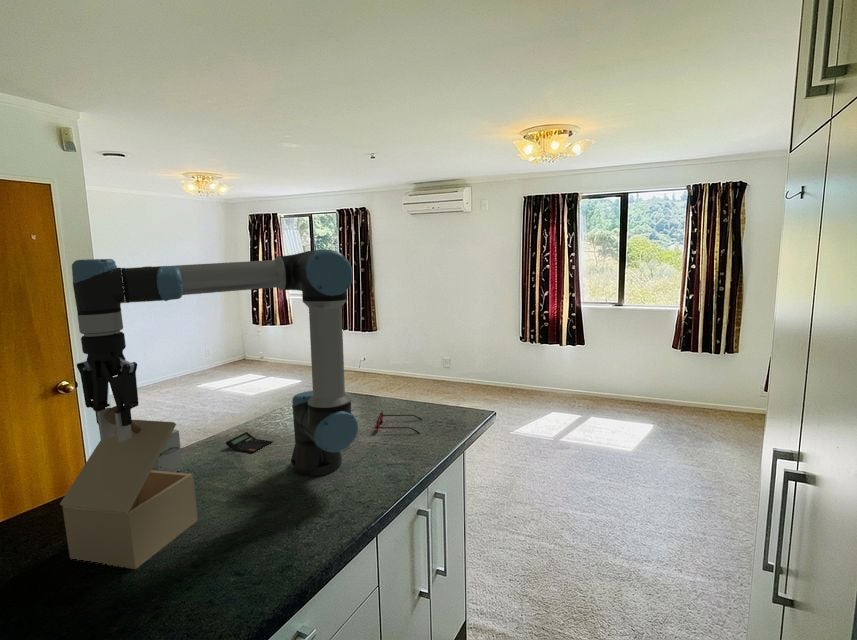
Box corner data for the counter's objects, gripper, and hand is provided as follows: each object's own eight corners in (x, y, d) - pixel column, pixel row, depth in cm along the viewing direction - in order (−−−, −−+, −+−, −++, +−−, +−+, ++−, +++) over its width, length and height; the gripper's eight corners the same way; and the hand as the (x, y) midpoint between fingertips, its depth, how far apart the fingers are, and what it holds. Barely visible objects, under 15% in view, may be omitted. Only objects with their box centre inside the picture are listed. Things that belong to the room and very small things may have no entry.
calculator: (253, 454, 151) (252, 445, 150) (226, 450, 155) (225, 441, 154) (272, 443, 159) (272, 435, 159) (246, 439, 163) (245, 431, 163)
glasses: (380, 421, 178) (379, 408, 178) (422, 421, 177) (422, 408, 177) (374, 435, 164) (373, 421, 164) (420, 434, 163) (419, 421, 163)
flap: (176, 424, 106) (149, 402, 98) (127, 513, 93) (92, 496, 86) (117, 420, 109) (86, 398, 102) (63, 506, 97) (23, 488, 89)
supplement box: (159, 480, 134) (154, 438, 132) (145, 474, 138) (141, 434, 136) (183, 469, 140) (179, 430, 138) (170, 464, 144) (166, 426, 142)
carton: (197, 520, 112) (192, 474, 110) (135, 569, 95) (128, 514, 93) (139, 513, 116) (134, 468, 114) (70, 559, 99) (62, 506, 97)
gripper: (150, 330, 98) (163, 434, 102) (87, 329, 102) (100, 430, 106) (119, 336, 91) (134, 448, 94) (52, 335, 95) (68, 443, 98)
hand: (116, 438), depth 100 cm, fingers closed on flap, 4 cm apart
